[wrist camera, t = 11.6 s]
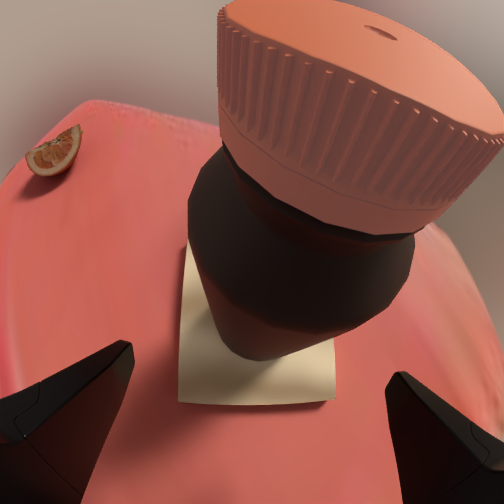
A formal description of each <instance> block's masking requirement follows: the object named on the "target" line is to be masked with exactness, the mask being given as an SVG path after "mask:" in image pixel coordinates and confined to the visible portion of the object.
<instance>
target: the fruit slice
mask: <svg viewBox="0 0 504 504" xmlns="http://www.w3.org/2000/svg"><path fill="white" fill-rule="evenodd" d="M80 128H81V127H80V125H79V124H78V125H76V126H74V127H71V128H70V129H68V130H66V131H64V132H63V133H61V134H60V135H58V137H56V139H53V140H52V141H49V142H45V143H43V144H42V145H40V146H38V147H37V148H34V149H33V150H31V151H30V152H28V153H27V154H26V155H25V158H26V161H27V165H28V167H29V169H30V170H31V171H32V172H33V173H35V174H36V175H39V176H54V175H57V174H60V173H61V172H63V171H65V170H66V169H67V168H69V166H70V165H71V164H72V163H73V162H74V160H75V158H76V156H77V154H78V151H79V148H80V145H81V140H82V137H81V135H82V133H83V131H81V129H80Z"/></svg>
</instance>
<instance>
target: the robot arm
mask: <svg viewBox="0 0 504 504" xmlns="http://www.w3.org/2000/svg"><path fill="white" fill-rule="evenodd" d="M134 365H135V359H134V353H133V346H132V343H131V342H128V341H124V340H118V341H116V342H114V343H112V344H111V345H109V346H107V347H105V348H103V349H101V350H99V351H97V352H96V353H94V354H92V355H90V356H88V357H86V358H84V359H82V360H80V361H78V362H77V363H75V364H73V365H71V366H69V367H67V368H65V369H63V370H61V371H59V372H57V373H56V374H54V375H52V376H50V377H48V378H46V379H44V380H42V381H41V382H38V383H36V384H34V385H32V386H30V387H28V388H26V389H24V390H22V391H19V392H17V393H15V394H12V395H10V396H7V397H4V398H2V399H0V504H81V501H82V498H83V497H82V496H83V495H84V492H85V490H86V487H87V485H88V482H89V479H90V477H91V474H92V472H93V469H94V467H95V464H96V462H97V459H98V457H99V455H100V452H101V450H102V448H103V445H104V443H105V440H106V438H107V436H108V434H109V431H110V429H111V427H112V424H113V422H114V420H115V418H116V416H117V413H118V411H119V409H120V407H121V404H122V402H123V399H124V396H125V393H126V390H127V386H128V383H129V380H130V377H131V374H132V371H133V368H134ZM385 398H386V405H387V413H388V421H389V428H390V433H391V438H392V443H393V447H394V452H395V457H396V463H397V468H398V474H399V480H400V486H401V493H402V500H403V504H504V442H502V441H500V440H499V439H497V438H495V437H494V436H492V435H491V434H489V433H488V432H486V431H484V430H483V429H482V428H480V427H479V426H478V425H476V424H475V423H474V422H472V421H471V420H469V419H468V418H467V417H465V416H464V415H463V414H462V413H460V412H459V411H458V410H456V409H455V408H454V407H452V406H451V405H450V404H448V403H447V402H446V401H444V400H443V399H442V398H440V397H439V396H438V395H436V394H435V393H434V392H432V391H431V390H430V389H428V388H427V387H426V386H424V385H423V384H422V383H420V382H419V381H418V380H416V379H415V378H414V377H412V376H411V375H410V374H409V373H407V372H405V371H398V372H395V373H394V374H393V376H392V378H391V379H390V381H389V383H388V384H387V386H386V388H385Z"/></svg>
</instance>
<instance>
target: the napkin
mask: <svg viewBox="0 0 504 504" xmlns="http://www.w3.org/2000/svg"><path fill="white" fill-rule="evenodd" d="M333 399H336V381H335V354H334V338H331V339H329V340H326V341H324V342H321V343H319V344H316V345H314V346H311V347H308V348H306V349H303V350H300V351H297V352H295V353H292V354H289V355H286V356H283V357H280V358H277V359H274V360H268V361H260V362H258V361H253V360H248V359H244V358H242V357H240V356H239V355H237V354H235V353H233V352H232V351H231V350H230V349H229V348H228V347H227V346H226V345H225V344H224V342H223V341H222V339H221V337H220V335H219V333H218V330H217V328H216V325H215V322H214V319H213V316H212V313H211V310H210V307H209V304H208V301H207V298H206V295H205V292H204V289H203V286H202V283H201V280H200V277H199V273H198V270H197V267H196V264H195V260H194V257H193V254H192V250H191V247H190V244H189V240H188V241H187V250H186V260H185V270H184V281H183V293H182V307H181V322H180V340H179V366H178V402H185V403H198V404H217V405H273V404H292V403H305V402H316V401H325V400H333Z"/></svg>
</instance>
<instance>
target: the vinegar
mask: <svg viewBox="0 0 504 504" xmlns="http://www.w3.org/2000/svg"><path fill="white" fill-rule="evenodd" d="M217 18H218V19H217V20H218V21H217V87H218V112H219V127H220V137H221V138H222V144H223V146H222V147H221V148H220V149H219V150H218V151H217V152H216V153H215V154H214V155H213V156H212V157H211V158H210V159H209V160H208V161H207V162H206V164H205V165H204V166H203V167H202V168H201V170H200V172H199V174H198V176H197V179H196V181H195V184H194V186H193V189H192V191H191V194H190V196H189V199H188V240H189V244H190V247H191V250H192V254H193V257H194V260H195V264H196V267H197V270H198V273H199V277H200V280H201V283H202V286H203V289H204V292H205V295H206V298H207V301H208V304H209V307H210V310H211V313H212V316H213V319H214V322H215V325H216V328H217V330H218V333H219V335H220V337H221V339H222V341H223V342H224V344H225V345H226V346H227V347H228V348H229V349H230V350H231V351H232V352H233V353H235V354H237V355H239V356H240V357H242V358H244V359H248V360H253V361H258V362H260V361H268V360H274V359H277V358H280V357H283V356H286V355H289V354H292V353H295V352H297V351H300V350H303V349H306V348H308V347H311V346H314V345H316V344H319V343H321V342H324V341H326V340H329V339H331V338H334V337H336V336H339V335H341V334H343V333H346V332H348V331H351V330H353V329H355V328H357V327H358V326H360V325H362V324H363V323H365V322H366V321H368V320H370V319H371V318H373V317H374V316H376V315H377V314H379V313H380V312H382V311H383V310H385V309H386V308H387V307H388V306H389V305H390V304H391V302H392V301H393V299H394V298H395V297H396V295H397V294H398V292H399V291H400V289H401V288H402V286H403V285H404V283H405V282H406V280H407V278H408V276H409V272H410V268H411V263H412V259H413V254H414V249H415V238H414V234H415V233H417V232H418V231H420V230H422V229H423V228H424V227H425V226H426V225H427V224H429V223H431V222H432V221H434V220H436V219H437V218H438V217H440V216H441V215H442V214H443V213H444V212H445V211H446V210H447V209H448V208H449V207H450V206H451V205H452V204H453V203H454V202H455V201H456V200H457V198H458V197H460V195H461V194H462V193H463V192H464V191H465V189H467V188H468V186H469V185H470V184H471V183H472V182H473V181H474V180H475V179H476V178H477V177H478V175H479V174H480V173H481V172H482V171H483V170H484V169H485V168H486V167H487V165H488V164H489V163H490V162H491V161H492V160H493V158H494V157H495V156H496V155H497V153H498V152H499V151H500V150H501V149H502V147H503V146H504V115H503V113H502V111H501V109H500V107H499V105H498V103H497V102H496V100H495V99H494V98H493V96H492V95H491V94H490V93H489V91H488V90H487V89H486V88H485V86H484V85H483V84H482V83H481V82H480V81H479V80H478V79H477V78H476V77H475V76H474V75H473V74H472V73H471V72H470V71H469V70H468V69H467V68H466V67H464V66H463V65H462V64H461V63H460V62H459V61H458V60H456V59H455V58H454V57H453V56H451V55H450V54H449V53H447V52H446V51H444V50H443V49H441V48H440V47H439V46H438V45H436V44H434V43H433V42H431V41H430V40H428V39H426V38H425V37H423V36H422V35H419V34H418V33H416V32H414V31H413V30H411V29H409V28H407V27H405V26H403V25H401V24H399V23H397V22H395V21H393V20H390V19H388V18H386V17H384V16H381V15H379V14H376V13H374V12H371V11H368V10H365V9H362V8H359V7H356V6H352V5H349V4H346V3H342V2H338V1H333V0H235V1H233V2H232V3H230V4H228V5H226V6H225V7H222V9H220V11H219V12H218V16H217Z"/></svg>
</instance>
